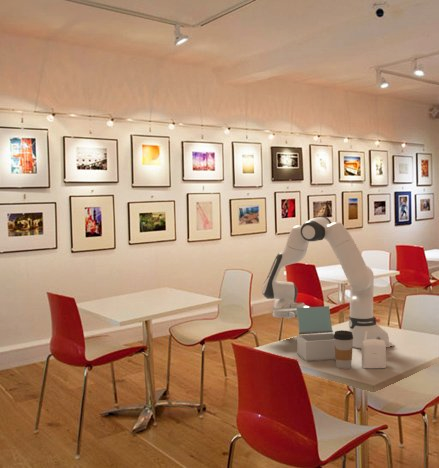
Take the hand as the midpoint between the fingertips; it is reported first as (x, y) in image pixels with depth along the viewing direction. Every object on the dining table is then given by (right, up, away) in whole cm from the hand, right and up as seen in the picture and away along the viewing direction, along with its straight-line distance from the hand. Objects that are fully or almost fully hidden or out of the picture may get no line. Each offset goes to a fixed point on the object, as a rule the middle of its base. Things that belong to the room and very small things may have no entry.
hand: (296, 315), depth 265 cm
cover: (+7, 0, -13) cm, 14 cm away
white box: (+8, -16, -19) cm, 26 cm away
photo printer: (+28, -17, -36) cm, 48 cm away
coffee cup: (+15, -17, -34) cm, 41 cm away
